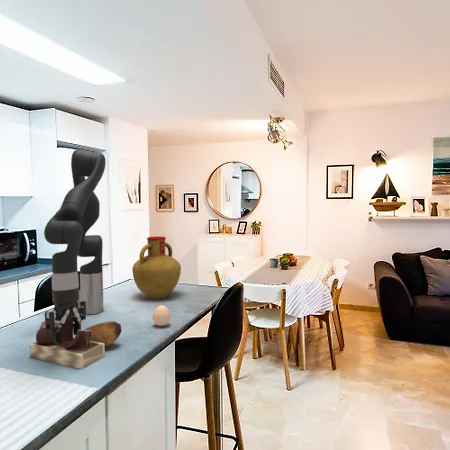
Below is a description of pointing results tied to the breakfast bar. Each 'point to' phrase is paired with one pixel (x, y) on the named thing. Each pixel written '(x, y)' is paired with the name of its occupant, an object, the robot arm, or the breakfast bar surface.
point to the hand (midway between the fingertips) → (67, 339)
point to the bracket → (65, 337)
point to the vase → (156, 269)
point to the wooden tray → (68, 354)
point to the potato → (105, 332)
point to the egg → (161, 315)
